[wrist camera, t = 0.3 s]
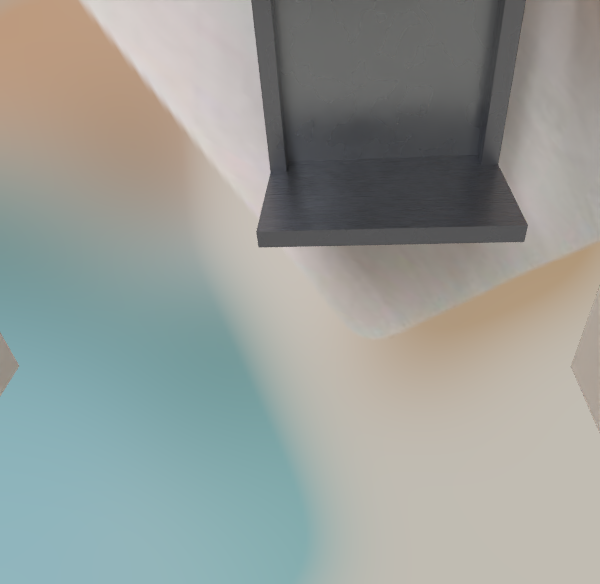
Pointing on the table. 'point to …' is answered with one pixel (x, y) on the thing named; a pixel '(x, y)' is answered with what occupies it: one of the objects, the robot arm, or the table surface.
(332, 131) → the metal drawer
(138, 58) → the table surface
